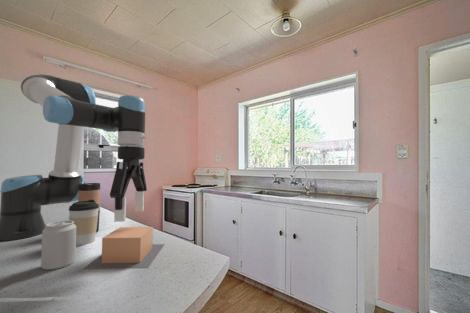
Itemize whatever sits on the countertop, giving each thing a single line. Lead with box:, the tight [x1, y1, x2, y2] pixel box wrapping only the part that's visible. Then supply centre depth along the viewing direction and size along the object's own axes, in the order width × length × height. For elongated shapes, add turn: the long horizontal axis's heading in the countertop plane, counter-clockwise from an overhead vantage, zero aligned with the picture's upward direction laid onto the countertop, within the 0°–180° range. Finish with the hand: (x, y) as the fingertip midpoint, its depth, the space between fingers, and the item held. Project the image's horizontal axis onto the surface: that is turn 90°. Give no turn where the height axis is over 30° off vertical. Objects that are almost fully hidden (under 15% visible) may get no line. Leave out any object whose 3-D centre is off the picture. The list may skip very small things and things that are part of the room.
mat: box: [82, 243, 166, 270], centre depth 66 cm, size 17×17×1 cm
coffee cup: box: [68, 200, 99, 248], centre depth 77 cm, size 9×9×15 cm
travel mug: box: [77, 182, 101, 233], centre depth 90 cm, size 8×8×20 cm
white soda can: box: [40, 219, 77, 271], centre depth 61 cm, size 8×8×12 cm
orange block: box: [101, 226, 154, 263], centre depth 66 cm, size 11×11×7 cm
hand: (130, 215), depth 67 cm, fingers open, 13 cm apart
